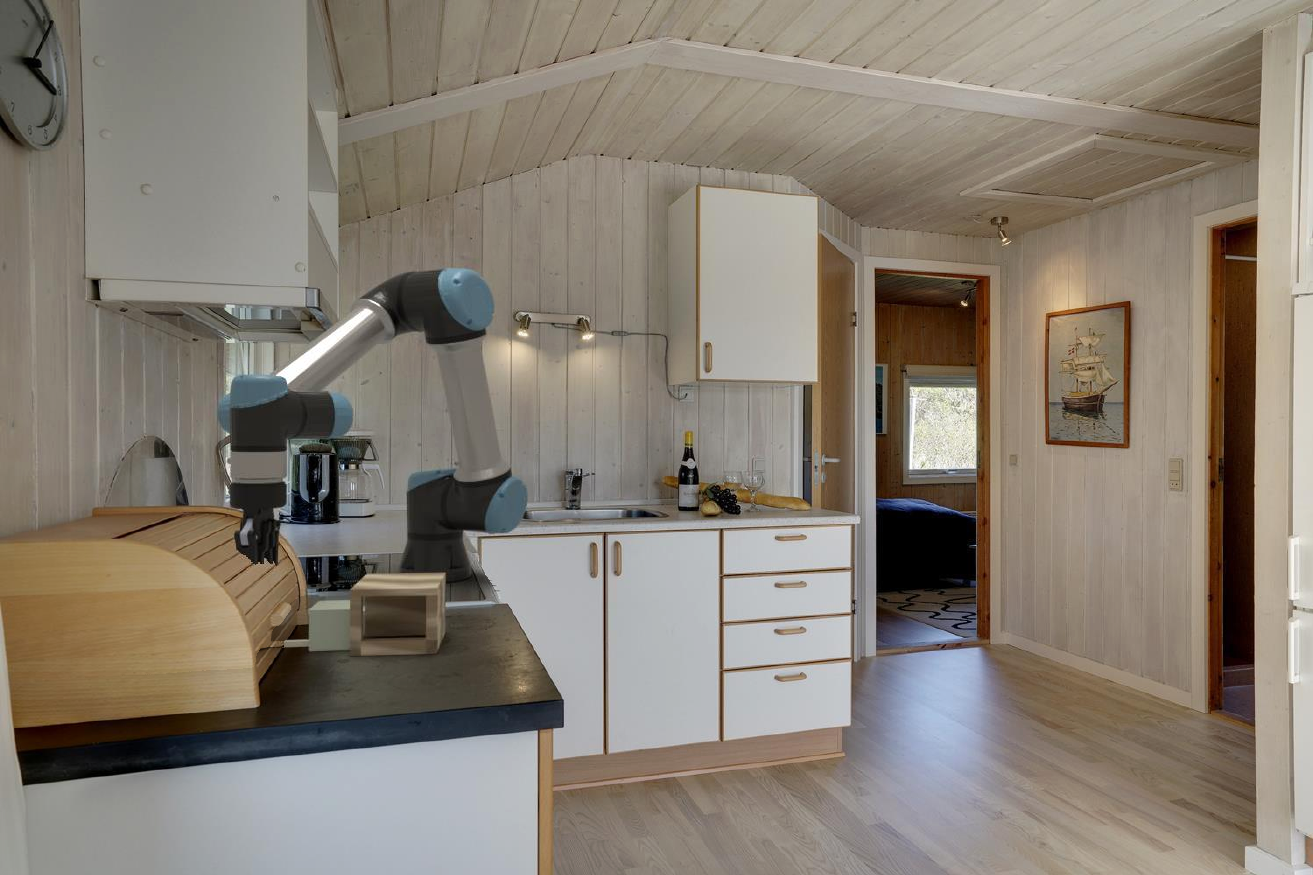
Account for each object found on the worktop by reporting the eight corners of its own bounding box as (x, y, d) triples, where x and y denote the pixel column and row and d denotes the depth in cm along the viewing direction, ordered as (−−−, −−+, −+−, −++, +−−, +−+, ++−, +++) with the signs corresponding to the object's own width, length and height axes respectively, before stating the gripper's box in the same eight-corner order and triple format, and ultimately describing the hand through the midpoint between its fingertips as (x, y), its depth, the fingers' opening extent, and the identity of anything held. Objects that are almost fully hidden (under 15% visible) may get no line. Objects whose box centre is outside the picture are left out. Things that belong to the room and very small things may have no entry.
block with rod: (255, 641, 124) (255, 568, 123) (360, 638, 126) (360, 567, 126) (242, 653, 118) (242, 576, 117) (352, 649, 120) (352, 574, 120)
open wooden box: (366, 634, 129) (367, 573, 129) (445, 632, 131) (445, 572, 130) (349, 655, 117) (350, 589, 117) (436, 653, 119) (437, 588, 119)
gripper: (249, 476, 128) (249, 627, 128) (210, 484, 112) (210, 656, 112) (300, 476, 129) (300, 626, 129) (268, 484, 113) (268, 654, 113)
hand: (258, 639), depth 121 cm, fingers closed on block with rod, 3 cm apart
